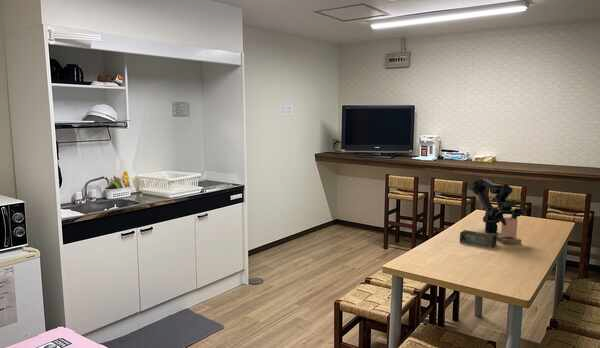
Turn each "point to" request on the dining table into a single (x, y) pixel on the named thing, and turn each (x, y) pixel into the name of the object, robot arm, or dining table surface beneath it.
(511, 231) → the reddish brown block
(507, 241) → the walnut block
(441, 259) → the dining table surface
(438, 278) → the dining table surface
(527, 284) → the dining table surface
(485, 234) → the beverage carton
